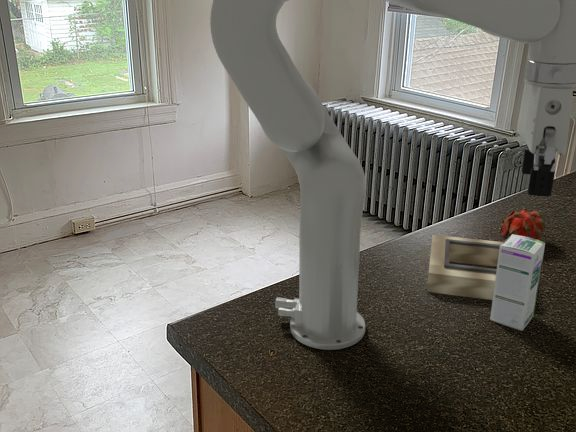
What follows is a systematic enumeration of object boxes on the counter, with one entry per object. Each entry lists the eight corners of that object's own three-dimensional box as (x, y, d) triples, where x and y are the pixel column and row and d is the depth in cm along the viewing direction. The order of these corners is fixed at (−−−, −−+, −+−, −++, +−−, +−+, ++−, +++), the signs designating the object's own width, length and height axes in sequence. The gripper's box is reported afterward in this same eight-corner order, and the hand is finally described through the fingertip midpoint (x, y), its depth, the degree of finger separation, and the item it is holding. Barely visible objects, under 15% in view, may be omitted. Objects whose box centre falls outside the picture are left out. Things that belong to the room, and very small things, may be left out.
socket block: (426, 291, 111) (428, 269, 109) (430, 251, 126) (432, 232, 124) (523, 303, 107) (527, 281, 105) (515, 261, 122) (518, 240, 120)
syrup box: (523, 332, 99) (537, 254, 93) (488, 320, 102) (499, 244, 96) (533, 316, 103) (547, 241, 97) (499, 305, 106) (511, 232, 100)
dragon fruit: (539, 243, 133) (506, 265, 127) (513, 214, 135) (480, 234, 130) (563, 224, 126) (529, 246, 120) (535, 193, 128) (501, 214, 123)
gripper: (593, 85, 77) (570, 206, 84) (571, 64, 92) (553, 168, 99) (531, 83, 79) (514, 202, 86) (520, 62, 94) (506, 165, 101)
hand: (535, 184), depth 93 cm, fingers open, 9 cm apart
